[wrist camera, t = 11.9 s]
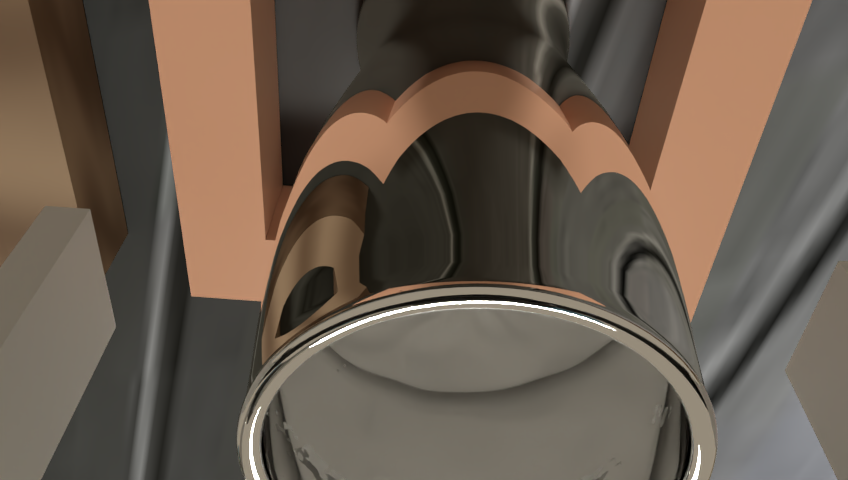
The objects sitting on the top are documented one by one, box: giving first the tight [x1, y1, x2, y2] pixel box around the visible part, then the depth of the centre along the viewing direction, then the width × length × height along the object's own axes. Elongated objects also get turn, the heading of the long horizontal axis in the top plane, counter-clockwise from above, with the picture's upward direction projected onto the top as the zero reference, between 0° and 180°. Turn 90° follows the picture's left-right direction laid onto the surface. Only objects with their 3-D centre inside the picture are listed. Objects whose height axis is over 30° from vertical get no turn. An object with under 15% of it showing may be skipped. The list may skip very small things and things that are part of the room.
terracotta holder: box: [149, 0, 812, 323], centre depth 22 cm, size 16×16×3 cm
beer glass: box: [236, 0, 718, 480], centre depth 17 cm, size 7×7×15 cm
